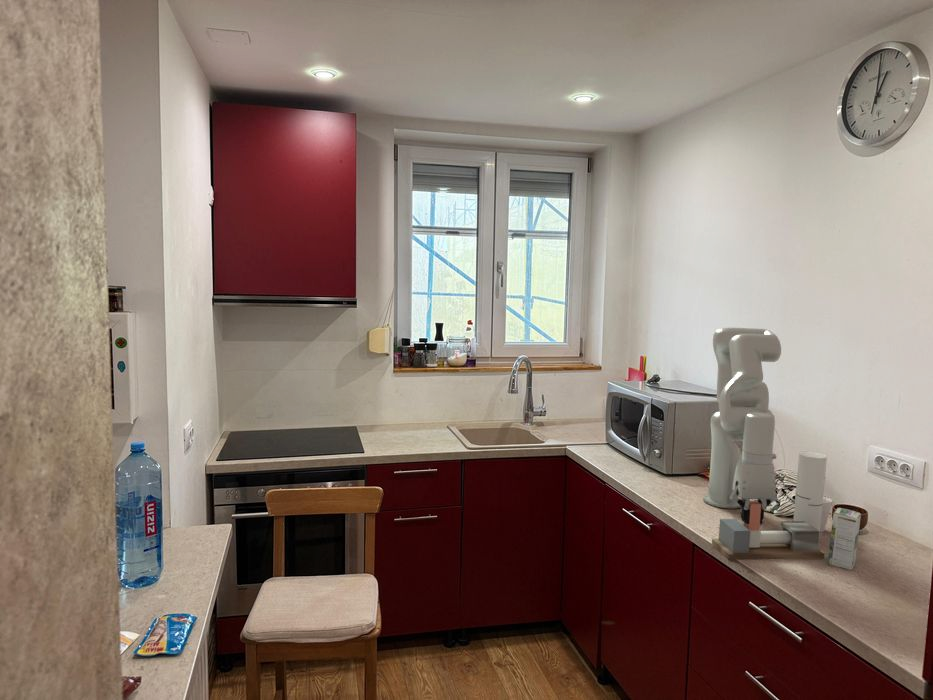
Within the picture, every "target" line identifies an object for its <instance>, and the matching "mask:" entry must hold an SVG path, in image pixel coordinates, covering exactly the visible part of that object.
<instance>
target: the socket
mask: <svg viewBox="0 0 933 700" xmlns="http://www.w3.org/2000/svg"><path fill="white" fill-rule="evenodd" d="M743 524H744V523H743ZM743 524H742V523H741V522H740V521H739V519H736V518H720V519H719V529H718V539H719V541H720V542H721V543H722V544H723V545H724V546H726V547H727V548H728V549H729V550H730V551H731V552H732V553H749V543H750V530H749V529H748V528H746V527H745V526H744V525H743Z"/></svg>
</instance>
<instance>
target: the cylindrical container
mask: <svg viewBox="0 0 933 700" xmlns="http://www.w3.org/2000/svg"><path fill="white" fill-rule="evenodd" d="M827 458H828V456H827V455H825V454H824V453H820V452H816V451H811V450H810V451H808V450H807V451H799V452H798V462H797V464H798V465H797V473H796V474H797V475H796V485H795V486H796V487H795V496H794V508H793V509H794V510H793V520H792V521H805V522H806V523H808V524H809V525H811V526H812V527H814V528H815V529H817V530H818V531H820V526H821V515H822V505H823V497H824V492H825V483H826V481H825V480H826V472H827V471H826V470H827V460H828V459H827ZM820 536H821V532H819V538H820Z"/></svg>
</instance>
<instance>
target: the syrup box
mask: <svg viewBox="0 0 933 700" xmlns="http://www.w3.org/2000/svg"><path fill="white" fill-rule="evenodd" d="M832 515H833V516H832V523H831V531H830V540H829V547H828V557H827V564H828V565H830V566H834V567H838V568H841V569H846V570H849V571H850V570H851V571H852V570H853V568H854V567H855V564H856V559H857V552H858V543H859V542H858V541H859V533H860V525H861V518H862V517H861V516H862V513H860V512H858V511H855V510H851V509H849V508H842V507H837V508H836V510H835V511H834V512H833V513H832Z"/></svg>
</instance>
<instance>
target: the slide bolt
mask: <svg viewBox="0 0 933 700" xmlns="http://www.w3.org/2000/svg"><path fill="white" fill-rule="evenodd" d="M748 509H749V510H750V520H749V524H746V523H745V522H743V525H744V526H745V527H746V528H748V529H749V530H750V543H749V547H760V544H791V541H792V533H791V532H790V531H780V530H760V526H761V524H760V515H761V504H760V503H759V502H758V501H757V499H750V503H749V508H748Z"/></svg>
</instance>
